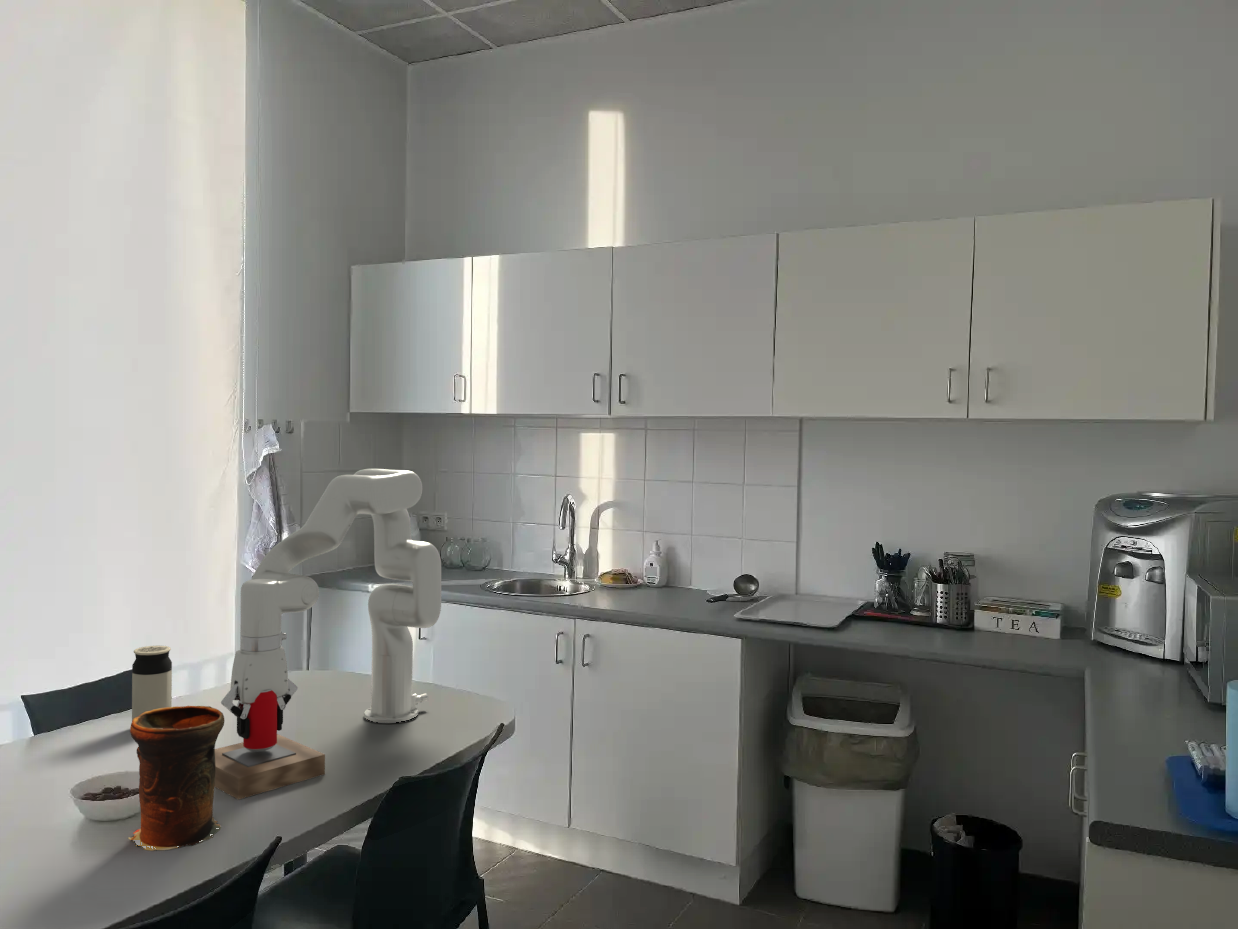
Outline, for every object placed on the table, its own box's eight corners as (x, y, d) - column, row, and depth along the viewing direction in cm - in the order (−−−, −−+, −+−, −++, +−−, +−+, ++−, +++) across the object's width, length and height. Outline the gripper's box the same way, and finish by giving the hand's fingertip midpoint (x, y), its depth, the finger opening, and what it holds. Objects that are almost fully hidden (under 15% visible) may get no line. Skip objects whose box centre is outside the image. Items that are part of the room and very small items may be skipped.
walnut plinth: (276, 752, 200) (277, 732, 200) (324, 774, 188) (325, 752, 188) (192, 775, 186) (192, 753, 186) (238, 799, 174) (238, 776, 174)
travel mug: (170, 732, 211) (170, 652, 210) (130, 735, 208) (130, 654, 207) (172, 721, 218) (173, 644, 218) (133, 724, 216) (134, 646, 215)
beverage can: (266, 740, 191) (266, 681, 191) (283, 747, 188) (283, 687, 187) (236, 748, 187) (237, 687, 186) (253, 755, 183) (254, 694, 182)
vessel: (148, 814, 167) (152, 702, 166) (232, 816, 168) (236, 704, 167) (110, 851, 152) (114, 728, 151) (202, 853, 153) (206, 731, 152)
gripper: (290, 633, 195) (289, 719, 196) (208, 646, 182) (208, 739, 183) (310, 639, 190) (309, 727, 191) (228, 653, 177) (227, 748, 178)
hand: (260, 732), depth 187 cm, fingers closed on beverage can, 6 cm apart
